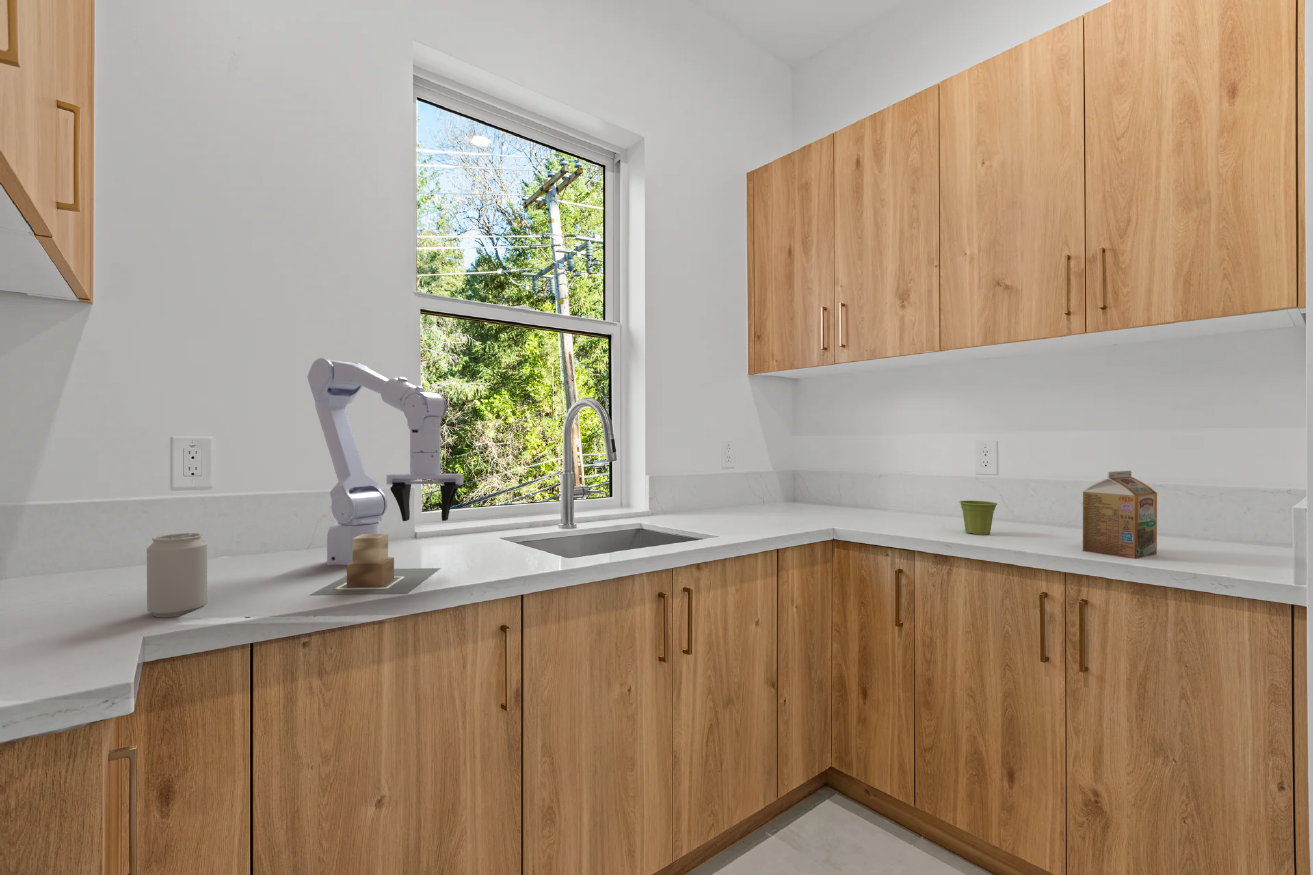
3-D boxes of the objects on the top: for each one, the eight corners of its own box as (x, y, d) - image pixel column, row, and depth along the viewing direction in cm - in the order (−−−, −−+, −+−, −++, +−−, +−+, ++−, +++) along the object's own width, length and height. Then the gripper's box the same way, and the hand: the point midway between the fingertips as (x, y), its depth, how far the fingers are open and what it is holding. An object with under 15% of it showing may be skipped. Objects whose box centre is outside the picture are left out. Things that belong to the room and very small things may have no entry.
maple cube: (352, 563, 111) (352, 538, 111) (362, 558, 115) (362, 534, 115) (378, 563, 111) (378, 538, 111) (388, 558, 116) (388, 533, 115)
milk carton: (1134, 558, 139) (1135, 473, 139) (1082, 551, 148) (1083, 470, 148) (1156, 554, 145) (1157, 471, 144) (1105, 547, 154) (1105, 469, 154)
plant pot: (990, 531, 178) (990, 500, 178) (1002, 536, 169) (1002, 504, 169) (955, 530, 180) (955, 500, 180) (964, 535, 171) (964, 503, 171)
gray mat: (309, 599, 105) (309, 594, 105) (359, 573, 125) (359, 568, 125) (407, 598, 106) (407, 592, 106) (440, 572, 126) (440, 567, 126)
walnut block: (346, 587, 110) (346, 564, 110) (360, 579, 116) (360, 557, 116) (381, 586, 111) (381, 564, 110) (394, 578, 117) (394, 557, 116)
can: (156, 608, 100) (156, 532, 100) (212, 603, 103) (212, 530, 103) (139, 621, 93) (139, 540, 93) (200, 615, 96) (200, 537, 96)
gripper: (380, 453, 121) (380, 523, 121) (457, 452, 122) (457, 522, 122) (393, 451, 128) (393, 518, 128) (465, 451, 129) (466, 517, 129)
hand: (425, 520), depth 126 cm, fingers open, 7 cm apart
